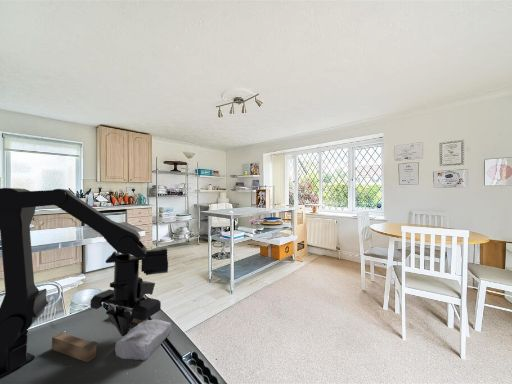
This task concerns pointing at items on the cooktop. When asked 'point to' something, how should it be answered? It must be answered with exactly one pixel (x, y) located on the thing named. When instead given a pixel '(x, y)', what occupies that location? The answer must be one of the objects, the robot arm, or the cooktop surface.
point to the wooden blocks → (77, 345)
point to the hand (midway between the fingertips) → (124, 335)
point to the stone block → (143, 340)
